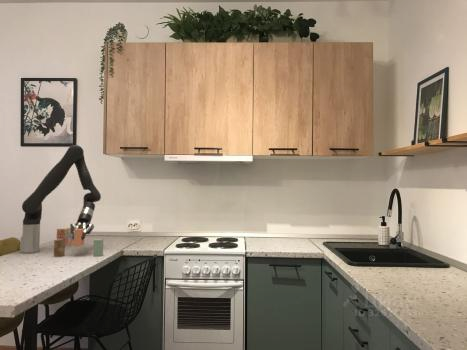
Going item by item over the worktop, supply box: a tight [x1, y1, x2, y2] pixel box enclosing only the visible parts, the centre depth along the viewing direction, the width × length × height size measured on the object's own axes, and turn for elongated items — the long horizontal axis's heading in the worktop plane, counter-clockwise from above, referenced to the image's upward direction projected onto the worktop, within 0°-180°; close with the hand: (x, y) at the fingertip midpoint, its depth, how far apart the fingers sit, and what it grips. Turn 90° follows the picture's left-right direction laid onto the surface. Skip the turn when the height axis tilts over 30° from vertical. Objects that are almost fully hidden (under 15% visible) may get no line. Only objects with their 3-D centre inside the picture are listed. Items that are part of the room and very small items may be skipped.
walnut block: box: [53, 238, 66, 258], centre depth 188 cm, size 4×4×10 cm
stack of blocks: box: [56, 226, 76, 248], centre depth 226 cm, size 21×6×12 cm, turn 170°
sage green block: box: [92, 238, 104, 257], centre depth 191 cm, size 4×4×10 cm
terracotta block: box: [72, 229, 85, 247], centre depth 189 cm, size 4×4×10 cm
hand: (77, 238), depth 188 cm, fingers closed on terracotta block, 4 cm apart
